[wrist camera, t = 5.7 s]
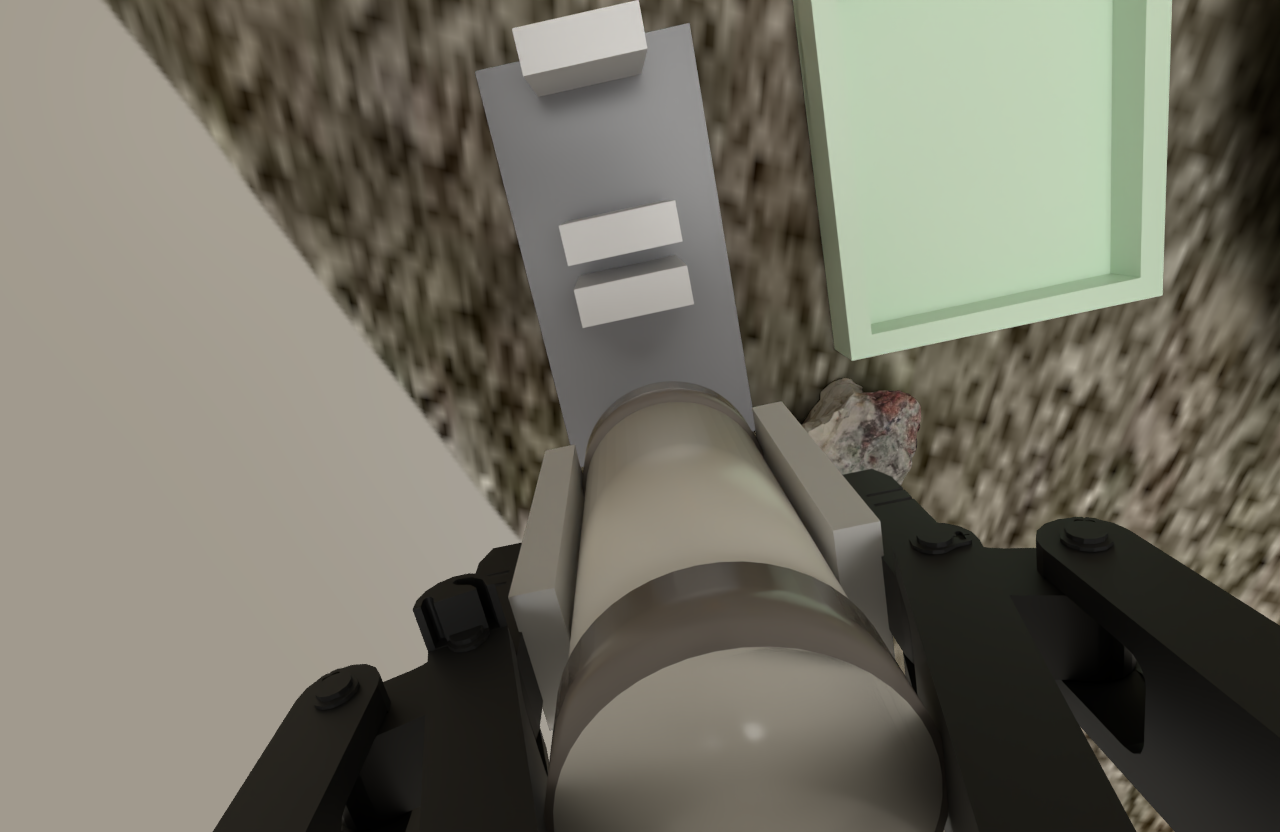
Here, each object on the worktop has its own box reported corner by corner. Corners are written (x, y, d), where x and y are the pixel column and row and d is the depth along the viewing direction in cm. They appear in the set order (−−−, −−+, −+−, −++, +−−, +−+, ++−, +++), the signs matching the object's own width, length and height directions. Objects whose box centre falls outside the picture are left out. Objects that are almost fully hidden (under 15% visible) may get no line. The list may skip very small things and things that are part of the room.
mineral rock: (707, 617, 38) (720, 670, 33) (623, 512, 35) (625, 554, 31) (942, 469, 35) (987, 506, 31) (867, 348, 33) (905, 370, 29)
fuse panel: (477, 73, 29) (446, 43, 23) (687, 26, 28) (705, -16, 23) (577, 462, 34) (570, 512, 29) (752, 425, 34) (780, 469, 28)
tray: (789, -24, 28) (806, -44, 26) (1127, -100, 28) (1176, -128, 25) (834, 349, 33) (851, 360, 31) (1122, 288, 33) (1162, 295, 30)
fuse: (566, 401, 18) (496, 686, 7) (741, 364, 17) (935, 598, 7) (605, 557, 19) (594, 991, 8) (767, 523, 19) (964, 922, 8)
